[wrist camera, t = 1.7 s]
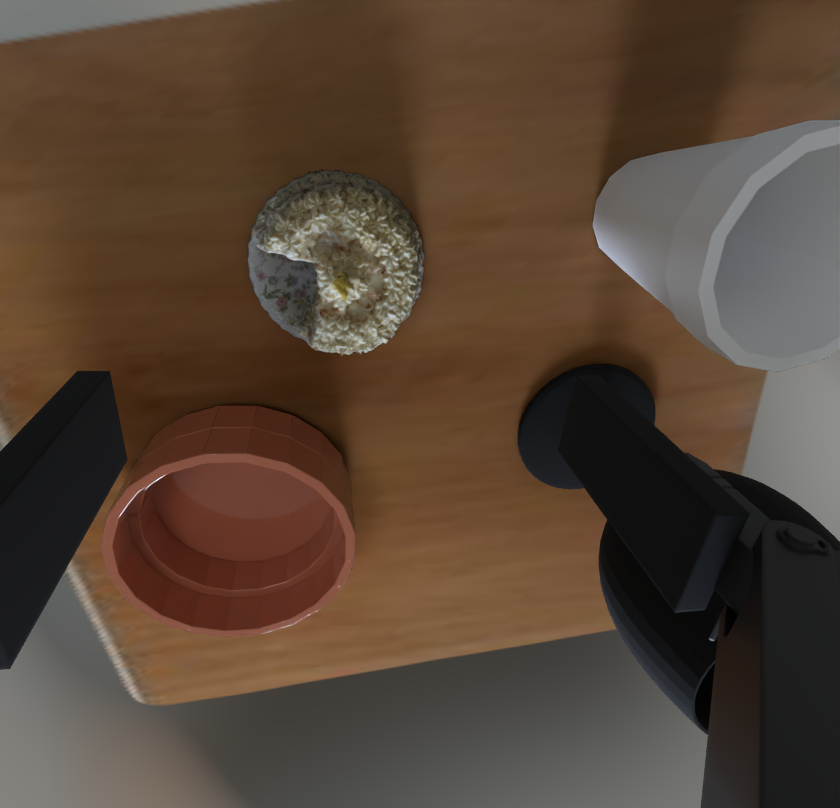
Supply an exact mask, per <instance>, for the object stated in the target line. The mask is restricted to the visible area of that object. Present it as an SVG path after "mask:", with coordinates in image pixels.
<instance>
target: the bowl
mask: <svg viewBox="0 0 840 808" xmlns="http://www.w3.org/2000/svg"><path fill="white" fill-rule="evenodd" d="M101 549H102V553H103V557H104V561H105V565H106V569H107V573H108V576H109V577H110V578H111V580H112V581H113V583H114V584H115V585H116V587H117V588H118V589H119V591H120V592H121V593H122V595H123V596H124V597H125V599H126V600H128V601H129V602H130V603H131V604H133V605H134V606H136V607H137V608H139V609H140V610H141V611H143V612H144V613H146V614H147V615H149V616H150V617H151V618H153V619H155V620H156V621H159V622H161V623H164V624H167V625H170V626H172V627H175V628H178V629H181V630H183V631H186V632H191V633H198V634H206V635H213V636H221V637H224V636H225V637H232V636H246V635H259V634H263V633H266V632H270V631H273V630H276V629H280V628H283V627H287V626H290V625H293V624H295V623H297V622H299V621H300V620H302V619H304V618H306V617H307V616H309V615H311V614H313V613H314V612H316V611H318V610H320V609H321V608H323V607H324V605H325V604H326V603H327V602H328V601H329V600H330V599H331V598H332V597H333V596H334V595H335V594H336V593H337V592H338V591H339V590H340V589H341V588H342V586H343V584H344V582H345V580H346V578H347V576H348V574H349V572H350V570H351V567H352V565H353V563H354V558H355V523H354V511H353V500H352V488H351V480H350V477H349V474H348V472H347V469H346V466H345V464H344V461H343V458H342V456H341V454H340V453H339V452H338V451H337V450H336V449H335V447H334V446H333V445H332V444H331V443H330V442H329V441H328V439H327V438H326V437H325V436H324V435H323V434H322V433H321V432H320V431H318V430H317V429H315V428H313V427H312V426H310V425H308V424H307V423H305V422H303V421H302V420H300V419H298V418H297V417H295V416H293V415H290V414H287V413H283V412H279V411H276V410H272V409H268V408H265V407H261V406H216V407H213V408H209V409H205V410H202V411H198V412H195V413H191V414H188V415H185V416H183V417H181V418H180V419H178V420H176V421H175V422H173V423H172V424H170V425H169V426H167V427H166V428H164V429H163V430H161V431H160V432H158V433H156V435H154V436H153V438H152V439H151V440H150V442H149V443H148V444H147V446H146V447H145V449H144V450H143V451H142V453H141V454H140V455H139V457H138V458H137V460H136V462H135V463H134V465H133V467H132V469H131V471H130V473H129V475H128V477H127V478H126V480H125V482H124V484H123V486H122V488H121V490H120V491H119V493H118V495H117V497H116V499H115V501H114V503H113V505H112V506H111V508H110V510H109V512H108V514H107V517H106V522H105V526H104V531H103V536H102V540H101Z"/></svg>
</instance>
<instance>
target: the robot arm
mask: <svg viewBox="0 0 840 808" xmlns="http://www.w3.org/2000/svg"><path fill="white" fill-rule="evenodd" d="M558 452H559V453H560V455H561V456H562V458H563V459H564V460H565V462H566V463H567V464H568V466H569V467H570V469H571V470H572V471H573V473H574V474H575V476H576V477H577V478H578V480H579V481H580V482H581V484H582V485H583V487H584V488H585V489H586V491H587V492H588V494H589V495H590V496H591V498H592V499H593V500H594V502H595V503H596V505H597V506H598V507H599V509H600V510H601V511H602V513H603V514H604V516H605V517H606V518H607V520H608V521H609V523H610V524H611V525H612V527H613V528H614V529H615V531H616V532H617V534H618V535H619V536H620V538H621V539H622V541H623V542H624V543H625V545H626V546H627V547H628V549H629V550H630V552H631V553H632V554H633V556H634V557H635V559H636V560H637V561H638V563H639V564H640V565H641V567H642V568H643V570H644V571H645V572H646V574H647V575H648V577H649V578H650V579H651V581H652V582H653V583H654V585H655V586H656V588H657V589H658V590H659V592H660V593H661V595H662V596H663V597H664V599H665V600H666V601H667V603H668V604H669V606H670V607H671V608H672V610H673V611H674V612H675V613H677V612H689V611H701V610H705V609H706V607H707V605H708V603H709V601H710V598H711V596H712V594H713V592H714V590H716V592H717V593H718V594H719V595H720V596H721V598H722V599H723V600H724V601H725V602H726V604H725V606H724V608H723V610H722V612H721V614H720V616H719V618H718V620H717V622H716V625H715V627H714V629H713V631H712V633H711V635H710V637H709V640H711V641H713V642H714V640H715V639H716V637H717V636H718V640H717V650H716V660H715V670H714V680H713V690H712V700H711V710H710V720H709V730H708V740H707V750H706V760H705V770H704V780H703V790H702V800H701V808H840V551H837V550H833V548H832V546H831V545H830V544H829V543H828V542H827V541H825V540H824V539H823V538H822V537H821V536H819V535H818V534H816V533H814V532H813V531H811V530H809V529H807V528H805V527H802V526H800V525H798V524H795V523H791V522H787V521H779V520H772V521H771V520H770V519H769V518H768V517H767V516H765V515H764V514H763V513H762V512H761V511H760V510H759V509H758V508H756V507H755V506H754V505H753V504H752V503H751V502H750V501H749V500H747V499H746V498H745V497H744V496H743V495H742V494H741V493H739V492H738V491H737V490H736V489H732V485H730V484H729V483H728V482H727V481H726V480H725V479H724V478H722V479H721V476H720V475H719V474H718V473H717V472H716V471H715V470H713V469H712V468H711V467H710V466H709V465H708V464H707V463H705V462H703V461H701V460H699V459H698V458H696V457H694V456H692V455H691V454H689V453H684V452H683V451H681V450H680V449H679V448H678V447H677V446H676V445H675V444H674V443H673V442H672V441H670V440H669V439H668V438H667V437H666V436H665V435H664V434H663V433H662V432H661V431H659V430H658V429H657V428H656V427H655V426H654V425H653V424H652V423H651V422H650V421H648V420H647V419H646V418H645V417H644V416H643V415H642V414H641V413H640V412H639V411H638V410H636V409H635V408H634V407H633V406H632V405H631V404H630V403H629V402H628V401H627V400H625V399H624V398H623V397H622V396H621V395H620V394H619V393H618V392H617V391H616V390H614V389H613V388H612V387H611V386H610V385H609V384H608V383H607V382H606V381H605V380H603V379H602V378H601V377H600V376H599V375H576V378H575V382H574V386H573V390H572V394H571V398H570V403H569V407H568V411H567V415H566V419H565V423H564V428H563V432H562V436H561V440H560V444H559V448H558ZM126 461H127V456H126V451H125V446H124V440H123V435H122V430H121V425H120V420H119V415H118V410H117V405H116V400H115V395H114V390H113V385H112V380H111V375H110V371H77V372H76V373H75V374H74V375H73V376H72V377H71V378H70V379H69V380H68V381H67V382H66V384H65V385H64V386H63V387H62V388H61V389H60V390H59V391H58V392H57V393H56V394H55V395H54V396H53V397H52V398H51V399H50V400H49V401H48V402H47V403H46V404H45V405H44V406H43V407H42V409H41V410H40V411H39V412H38V413H37V414H36V415H35V416H34V417H33V418H32V419H31V420H30V421H29V422H28V423H27V424H26V425H25V426H24V427H23V428H22V429H21V430H20V431H19V433H18V434H17V435H16V436H15V437H14V438H13V439H12V440H11V441H10V442H9V443H8V444H7V445H6V446H5V447H4V448H3V449H2V450H1V451H0V670H1V669H10V668H11V666H12V664H13V662H14V660H15V659H16V657H17V655H18V653H19V652H20V650H21V648H22V646H23V645H24V643H25V641H26V639H27V637H28V636H29V634H30V632H31V630H32V629H33V627H34V625H35V623H36V621H37V619H38V618H39V616H40V614H41V613H42V611H43V609H44V607H45V605H46V604H47V602H48V600H49V598H50V597H51V595H52V593H53V591H54V589H55V587H56V586H57V584H58V582H59V580H60V579H61V577H62V575H63V573H64V572H65V570H66V568H67V566H68V564H69V563H70V561H71V559H72V557H73V556H74V554H75V552H76V550H77V548H78V547H79V545H80V543H81V541H82V540H83V538H84V536H85V534H86V532H87V531H88V529H89V527H90V525H91V524H92V522H93V520H94V518H95V516H96V515H97V513H98V511H99V509H100V508H101V506H102V504H103V502H104V500H105V499H106V497H107V495H108V493H109V491H110V490H111V488H112V486H113V484H114V483H115V481H116V479H117V477H118V475H119V474H120V472H121V470H122V468H123V467H124V465H125V463H126Z"/></svg>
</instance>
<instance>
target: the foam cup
mask: <svg viewBox="0 0 840 808" xmlns="http://www.w3.org/2000/svg"><path fill="white" fill-rule="evenodd" d="M593 229H594V233H595V236H596V239H597V243H598V246H599V248H600V249H601V250H602V251H603V252H604V253H605V254H606V255H607V256H608V257H609V258H610V259H612V260H613V261H614V262H615V263H616V264H617V265H618V266H619V267H620V268H621V269H622V270H624V271H625V272H626V273H627V274H628V275H629V276H631V277H632V278H633V279H634V280H635V281H636V282H637V283H639V284H640V285H641V286H642V287H643V288H644V289H646V290H647V291H648V292H649V293H650V294H651V295H653V296H654V297H655V298H656V299H657V300H658V301H659V302H661V303H662V304H663V305H664V306H665V307H666V308H668V309H669V310H670V311H671V312H672V313H673V314H674V316H675V319H676V320H677V321H678V322H679V323H680V324H681V325H682V326H683V327H684V328H685V329H686V330H688V331H689V332H690V333H691V334H692V335H693V336H694V337H695V338H696V339H697V340H698V341H699V342H700V343H701V344H702V345H704V346H705V347H707V348H709V349H711V350H712V351H714V352H716V353H717V354H719V355H721V356H722V357H724V358H726V359H728V360H729V361H731V362H733V363H734V364H736V365H741V366H746V367H752V368H757V369H763V370H768V371H774V372H780V371H783V370H787V369H791V368H795V367H798V366H802V365H806V364H809V363H813V362H816V361H820V360H824V359H825V358H827V357H829V356H830V355H832V354H833V353H835V352H836V351H838V350H839V349H840V120H813V121H806V122H802V123H798V124H794V125H791V126H787V127H783V128H779V129H775V130H772V131H768V132H764V133H760V134H757V135H755V136H751V137H745V138H740V139H734V140H729V141H723V142H717V143H712V144H706V145H701V146H695V147H690V148H684V149H678V150H673V151H667V152H662V153H657V154H653V155H649V156H645V157H641V158H637V159H634V160H630V161H629V162H628V163H626V164H625V165H624V166H623V167H622V168H620V169H619V170H618V171H617V172H615V173H614V174H613V175H612V176H610V177H609V179H608V181H607V183H606V184H605V186H604V188H603V190H602V191H601V193H600V195H599V197H598V198H597V200H596V205H595V212H594V219H593Z"/></svg>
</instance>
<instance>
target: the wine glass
mask: <svg viewBox="0 0 840 808" xmlns="http://www.w3.org/2000/svg"><path fill="white" fill-rule="evenodd" d="M576 375H599V376H600V377H601V378H602V379H603V380H605V381H606V382H607V383H608V384H609V385H610V386H611V387H612V388H613V389H614V390H616V391H617V392H618V393H619V394H620V395H621V396H622V397H623V398H624V399H625V400H627V401H628V402H629V403H630V404H631V405H632V406H633V407H634V408H635V409H636V410H638V411H639V412H640V413H641V414H642V415H643V416H644V417H645V418H646V419H647V420H648V421H650V422H651V423H652V424H653V425H654V422H655V404H654V399H653V396H652V394H651V392H650V389H649V388H648V387H647V385H646V384H645V382H644V381H642V380H641V379H640V378H639V377H638V376H637V375H636V374H634V373H633V372H631V371H629V370H628V369H625V368H622V367H620V366H616V365H610V364H592V365H585V366H581V367H578V368H575V369H572V370H570V371H567V372H565V373H563V374H561V375H560V376H558V377H556V378H555V379H553V380H552V381H550V382H549V383H548V384H547V385H545V386H544V387H543V388H542V389H541V390H540V391H539V392H538V393H537V394H536V395H535V397H534V398H533V399H532V401H531V402H530V403H529V405H528V407H527V408H526V410H525V412H524V414H523V417H522V419H521V422H520V426H519V431H518V447H519V453H520V455H521V458H522V461H523V463H524V464H525V466H526V467H527V469H528V470H529V471H530V472H531V473H532V474H533V475H534V476H535V477H536V478H537V479H539V480H540V481H542V482H544V483H546V484H548V485H550V486H554V487H557V488H564V489H580V488H584V487H583V485H582V484H581V482H580V481H579V480H578V478H577V477H576V476H575V474H574V473H573V471H572V470H571V469H570V467H569V466H568V464H567V463H566V462H565V460H564V459H563V458H562V456H561V455H560V453H559V452H558V448H559V444H560V440H561V436H562V432H563V428H564V423H565V419H566V415H567V411H568V407H569V403H570V398H571V394H572V390H573V386H574V382H575V378H576ZM713 470H715V469H713ZM715 471H716V472H717V473H718V474H719V475H720V476H721V479H722V478H724V479H725V480H726V481H727V482H728V483H729V484H730V485H732V489H736V490H737V491H738V492H739V493H741V494H742V495H743V496H744V497H745V498H746V499H747V500H749V501H750V502H751V503H752V504H753V505H754V506H755V507H756V508H758V509H759V510H760V511H761V512H762V513H763V514H764V515H765V516H767V517H768V518H769V519H770V520H771V521H772V520H779V521H787V522H791V523H795V524H798V525H800V526H802V527H805V528H807V529H809V530H811V531H813V532H814V533H816V534H818V535H819V536H821V537H822V538H823V539H824V540H825V541H827V542H828V543H829V544H830V545H831V546H832V548H833V550H837V551H840V542H839V541H838V540H837V539H836V537H835V536H834V535H832V534H831V533H830V532H829V531H828V530H827V529H826V528H825V527H824V526H823V525H822V524H821V523H820V522H819V521H817V520H816V519H815V518H814V517H813V516H812V515H811V514H810V513H808V512H807V511H806V510H805V509H803V508H802V507H801V506H799V505H798V504H797V503H795V502H793V501H792V500H790V499H789V498H788V497H786V496H785V495H783V494H781V493H779V492H777V491H776V490H774V489H772V488H770V487H769V486H766V485H765V484H763V483H761V482H758V481H756V480H753V479H750V478H748V477H744V476H741V475H738V474H735V473H732V472H727V471H722V470H715ZM599 572H600V582H601V587H602V591H603V595H604V598H605V601H606V604H607V607H608V610H609V613H610V615H611V617H612V620H613V622H614V624H615V626H616V628H617V630H618V632H619V633H620V635H621V637H622V639H623V640H624V642H625V643H626V645H627V646H628V648H629V649H630V651H631V652H632V654H633V655H634V657H635V658H636V659H637V661H638V662H639V664H640V665H641V666H642V668H643V669H644V670H645V671H646V673H647V674H648V675H649V676H650V678H651V679H652V680H653V681H654V682H655V683H656V685H657V686H658V687H659V688H660V689H661V690H662V691H663V692H664V694H665V695H666V696H667V697H668V698H669V699H670V700H671V701H672V702H673V703H674V704H675V705H676V706H677V707H678V708H679V709H680V710H681V711H682V712H683V713H684V714H685V715H686V716H687V717H688V718H689V719H690V720H691V721H692V722H693V723H694V724H695V725H697V726H698V727H699V728H700V729H701V730H702V731H703V732H704V733H706V734H708V730H709V720H710V710H711V700H712V690H713V680H714V670H715V660H716V650H717V640H718V636H717V637H716V639H715V640H714V642H713V641H711V640H709V637H710V635H711V633H712V631H713V629H714V627H715V625H716V622H717V620H718V618H719V616H720V614H721V612H722V610H723V608H724V606H725V604H726V602H725V601H724V600H723V599H722V598H721V596H720V595H719V594H718V593H717V592H716V590H714V592H713V594H712V596H711V598H710V601H709V603H708V605H707V607H706V609H705V610H701V611H689V612H677V613H675V612H674V611H673V610H672V608H671V607H670V606H669V604H668V603H667V601H666V600H665V599H664V597H663V596H662V595H661V593H660V592H659V590H658V589H657V588H656V586H655V585H654V583H653V582H652V581H651V579H650V578H649V577H648V575H647V574H646V572H645V571H644V570H643V568H642V567H641V565H640V564H639V563H638V561H637V560H636V559H635V557H634V556H633V554H632V553H631V552H630V550H629V549H628V547H627V546H626V545H625V543H624V542H623V541H622V539H621V538H620V536H619V535H618V534H617V532H616V531H615V529H614V528H613V527H612V525H611V524H610V523H609V521H608V520H607V522H606V524H605V527H604V531H603V534H602V538H601V542H600V550H599Z"/></svg>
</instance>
